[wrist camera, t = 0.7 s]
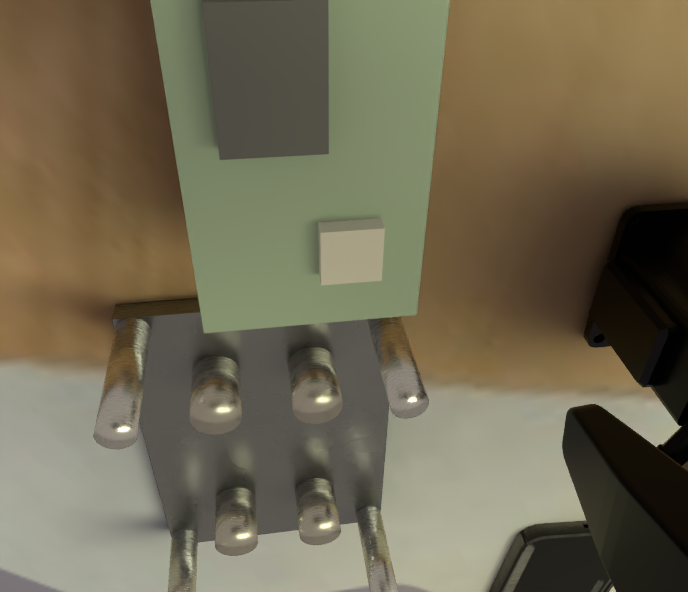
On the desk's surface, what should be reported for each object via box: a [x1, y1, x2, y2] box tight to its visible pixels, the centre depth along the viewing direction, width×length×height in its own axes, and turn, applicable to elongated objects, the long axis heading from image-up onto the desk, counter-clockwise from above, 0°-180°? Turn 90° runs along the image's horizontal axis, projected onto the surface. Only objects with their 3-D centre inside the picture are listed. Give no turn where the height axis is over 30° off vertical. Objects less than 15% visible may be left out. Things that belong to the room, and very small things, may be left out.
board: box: [150, 0, 450, 333], centre depth 15 cm, size 6×10×2 cm, turn 179°
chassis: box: [94, 299, 429, 592], centre depth 25 cm, size 10×14×6 cm
